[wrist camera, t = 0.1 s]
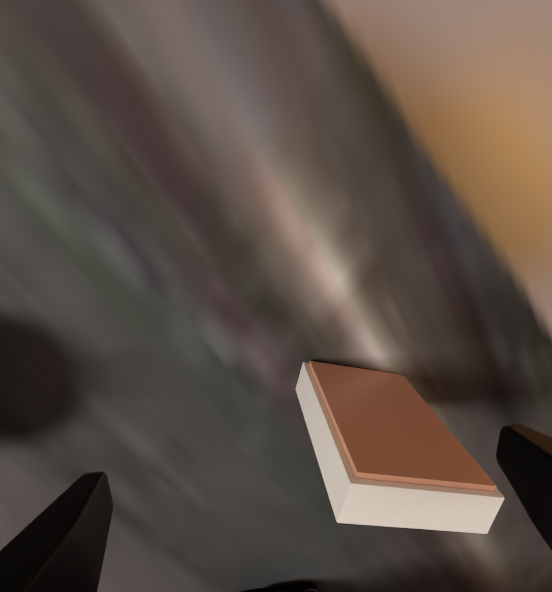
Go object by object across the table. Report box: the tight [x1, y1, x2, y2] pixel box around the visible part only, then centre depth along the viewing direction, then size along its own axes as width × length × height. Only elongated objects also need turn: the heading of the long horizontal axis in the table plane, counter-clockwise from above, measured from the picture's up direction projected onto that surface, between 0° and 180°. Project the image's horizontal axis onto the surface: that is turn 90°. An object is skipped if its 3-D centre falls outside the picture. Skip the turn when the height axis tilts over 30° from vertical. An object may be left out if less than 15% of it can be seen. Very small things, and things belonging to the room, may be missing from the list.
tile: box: [296, 361, 504, 534], centre depth 21 cm, size 2×7×10 cm, turn 77°
